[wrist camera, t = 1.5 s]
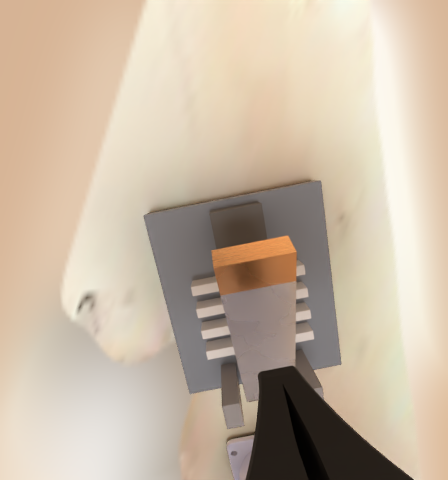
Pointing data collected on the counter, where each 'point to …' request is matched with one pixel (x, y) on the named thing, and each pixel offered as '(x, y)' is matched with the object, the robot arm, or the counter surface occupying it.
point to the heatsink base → (207, 292)
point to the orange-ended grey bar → (259, 305)
